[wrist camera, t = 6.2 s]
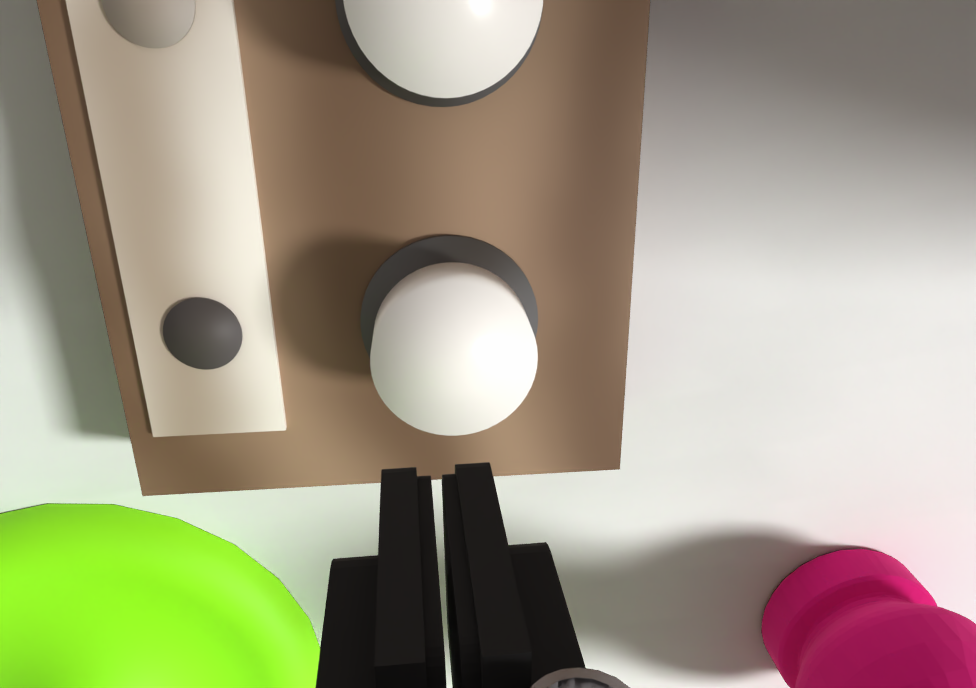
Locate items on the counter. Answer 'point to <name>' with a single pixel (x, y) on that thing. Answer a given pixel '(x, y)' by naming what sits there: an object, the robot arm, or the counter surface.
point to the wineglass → (141, 606)
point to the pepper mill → (865, 627)
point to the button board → (342, 230)
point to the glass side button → (452, 349)
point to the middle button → (444, 41)
